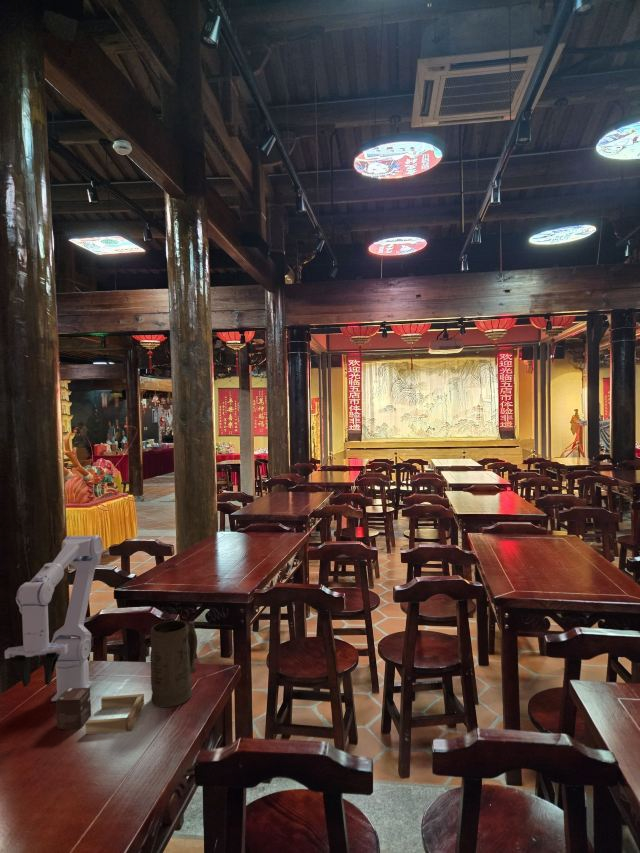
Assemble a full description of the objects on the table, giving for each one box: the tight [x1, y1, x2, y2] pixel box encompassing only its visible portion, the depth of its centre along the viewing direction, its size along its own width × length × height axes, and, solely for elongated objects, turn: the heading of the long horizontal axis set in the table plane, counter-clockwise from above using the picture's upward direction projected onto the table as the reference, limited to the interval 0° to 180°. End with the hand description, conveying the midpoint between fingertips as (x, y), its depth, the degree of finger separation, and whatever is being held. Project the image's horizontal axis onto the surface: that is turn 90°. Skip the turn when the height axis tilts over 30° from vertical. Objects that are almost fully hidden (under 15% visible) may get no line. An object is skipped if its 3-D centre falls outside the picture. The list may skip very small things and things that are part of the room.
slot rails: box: [84, 693, 145, 735], centre depth 134 cm, size 12×11×3 cm
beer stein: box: [149, 619, 198, 708], centre depth 146 cm, size 15×11×20 cm
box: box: [55, 687, 92, 730], centre depth 133 cm, size 6×6×7 cm
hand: (37, 683), depth 132 cm, fingers open, 5 cm apart
